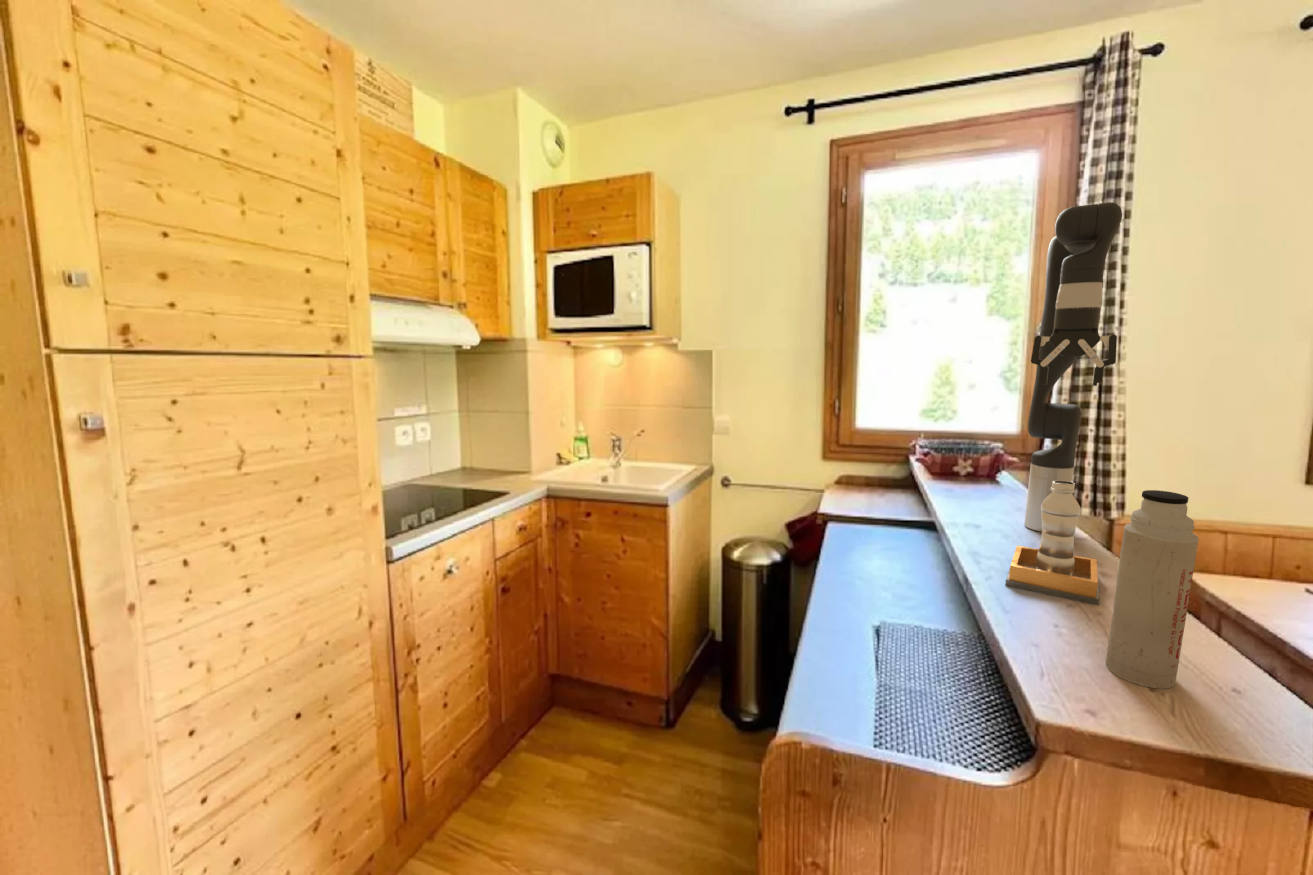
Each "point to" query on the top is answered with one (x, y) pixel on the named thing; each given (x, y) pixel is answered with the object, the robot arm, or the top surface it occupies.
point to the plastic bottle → (1058, 529)
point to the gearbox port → (1054, 577)
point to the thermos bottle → (1152, 591)
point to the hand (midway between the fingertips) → (1069, 384)
